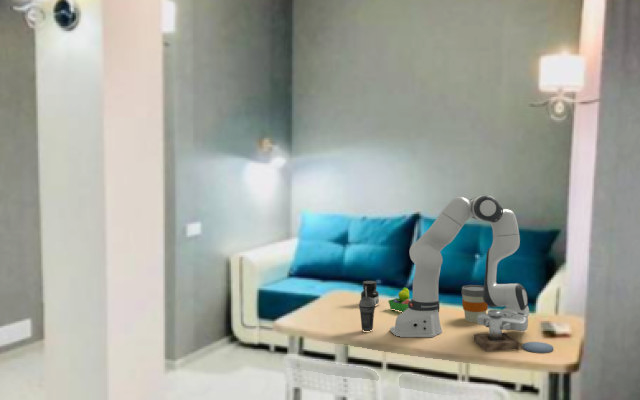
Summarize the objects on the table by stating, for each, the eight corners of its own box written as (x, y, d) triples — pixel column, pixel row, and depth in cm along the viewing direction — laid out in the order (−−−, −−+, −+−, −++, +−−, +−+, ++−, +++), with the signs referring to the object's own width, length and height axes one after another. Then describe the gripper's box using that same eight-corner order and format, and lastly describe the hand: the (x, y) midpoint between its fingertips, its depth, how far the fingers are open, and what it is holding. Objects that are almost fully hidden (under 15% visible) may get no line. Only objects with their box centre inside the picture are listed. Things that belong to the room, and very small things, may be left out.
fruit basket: (387, 310, 347) (387, 288, 346) (399, 307, 353) (399, 285, 352) (405, 314, 339) (405, 291, 338) (416, 311, 345) (416, 288, 344)
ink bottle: (373, 308, 352) (373, 284, 350) (357, 306, 356) (357, 283, 355) (382, 304, 360) (381, 281, 359) (366, 302, 364) (366, 279, 363)
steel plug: (491, 348, 286) (491, 314, 285) (485, 343, 292) (485, 310, 290) (505, 347, 287) (505, 313, 285) (499, 342, 293) (499, 309, 291)
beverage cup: (363, 334, 307) (363, 289, 305) (356, 330, 314) (355, 286, 312) (378, 332, 310) (378, 287, 308) (370, 328, 317) (370, 284, 315)
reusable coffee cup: (479, 315, 336) (480, 284, 335) (494, 321, 325) (494, 289, 323) (456, 317, 333) (456, 286, 331) (470, 324, 321) (470, 291, 319)
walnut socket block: (485, 351, 282) (485, 344, 281) (473, 341, 295) (473, 334, 295) (518, 349, 284) (518, 342, 283) (504, 339, 297) (504, 332, 297)
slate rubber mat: (530, 353, 278) (530, 351, 278) (517, 344, 290) (517, 342, 290) (558, 351, 279) (558, 350, 279) (544, 343, 291) (544, 341, 291)
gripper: (484, 308, 305) (470, 315, 294) (531, 315, 293) (518, 322, 282) (484, 322, 305) (470, 330, 294) (531, 330, 293) (518, 338, 282)
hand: (494, 326), depth 288 cm, fingers closed on steel plug, 5 cm apart
